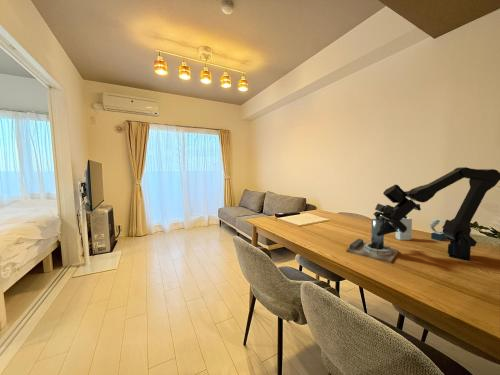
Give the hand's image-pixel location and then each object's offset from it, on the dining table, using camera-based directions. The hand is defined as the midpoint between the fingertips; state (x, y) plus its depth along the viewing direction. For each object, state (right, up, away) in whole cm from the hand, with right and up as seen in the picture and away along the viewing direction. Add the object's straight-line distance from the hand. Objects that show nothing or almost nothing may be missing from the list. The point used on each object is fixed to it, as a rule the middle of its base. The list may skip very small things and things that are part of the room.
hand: (374, 233), depth 96 cm
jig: (0, -9, +2) cm, 9 cm away
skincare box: (+27, -7, +19) cm, 34 cm away
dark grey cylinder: (+2, -7, 0) cm, 7 cm away
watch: (+46, -7, +17) cm, 49 cm away
